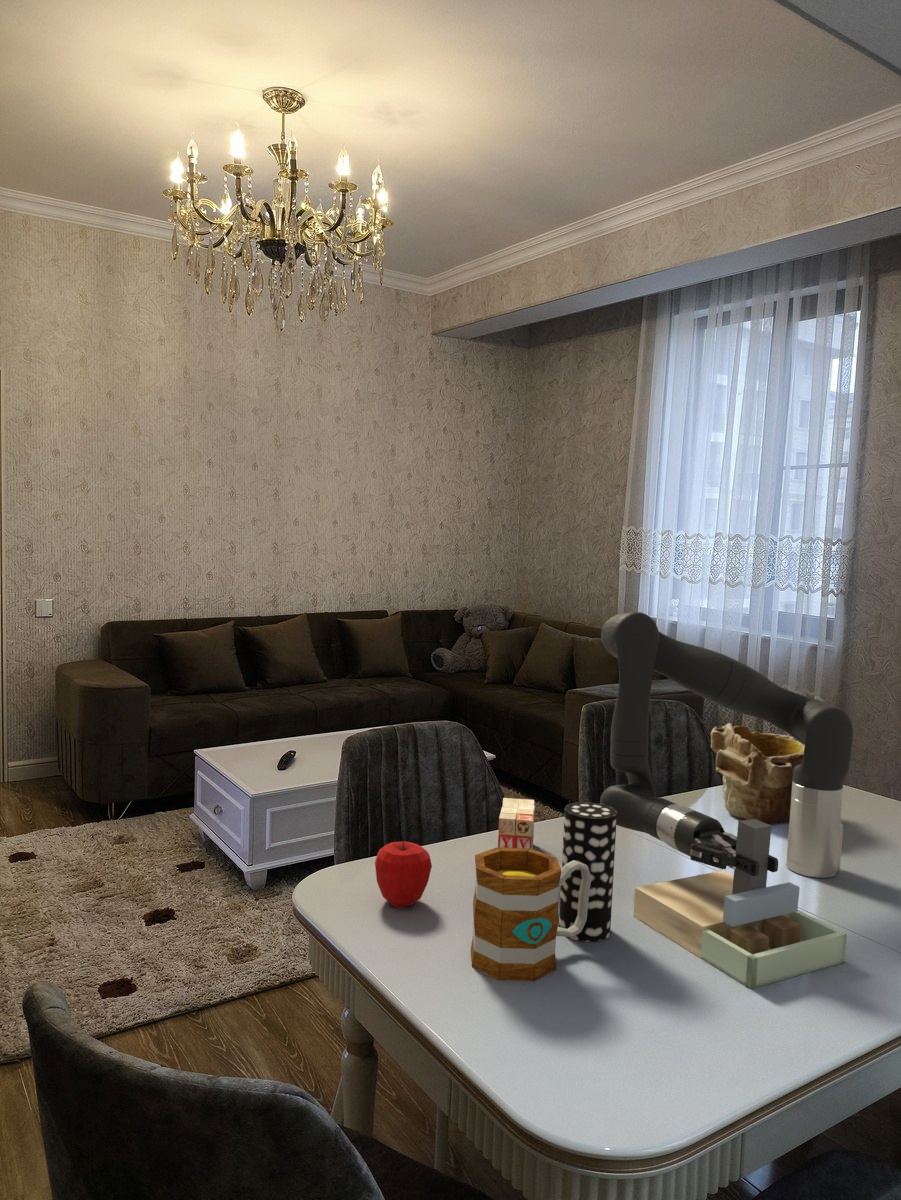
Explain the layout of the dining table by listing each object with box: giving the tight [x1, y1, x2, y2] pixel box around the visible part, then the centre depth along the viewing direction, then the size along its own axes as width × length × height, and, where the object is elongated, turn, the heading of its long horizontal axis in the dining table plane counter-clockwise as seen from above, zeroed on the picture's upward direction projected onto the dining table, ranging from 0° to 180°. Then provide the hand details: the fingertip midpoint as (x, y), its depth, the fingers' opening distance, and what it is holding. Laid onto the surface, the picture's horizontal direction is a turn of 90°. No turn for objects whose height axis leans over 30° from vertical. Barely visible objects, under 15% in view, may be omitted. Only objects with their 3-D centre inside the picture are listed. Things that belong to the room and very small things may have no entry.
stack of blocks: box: [497, 797, 536, 850], centre depth 173 cm, size 21×6×12 cm, turn 173°
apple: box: [374, 841, 433, 909], centre depth 152 cm, size 10×10×11 cm
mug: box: [470, 846, 591, 982], centre depth 134 cm, size 20×14×15 cm
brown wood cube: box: [762, 915, 801, 949], centre depth 141 cm, size 4×4×4 cm
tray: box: [700, 909, 848, 990], centre depth 137 cm, size 20×10×4 cm, turn 118°
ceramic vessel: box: [710, 722, 805, 825], centre depth 206 cm, size 23×24×25 cm
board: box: [633, 869, 790, 959], centre depth 148 cm, size 20×16×5 cm
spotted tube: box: [558, 801, 617, 943], centre depth 144 cm, size 8×8×20 cm
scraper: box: [723, 819, 800, 927], centre depth 140 cm, size 14×6×14 cm, turn 118°
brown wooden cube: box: [729, 926, 769, 955], centre depth 136 cm, size 4×4×4 cm
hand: (766, 867), depth 138 cm, fingers closed on scraper, 3 cm apart
